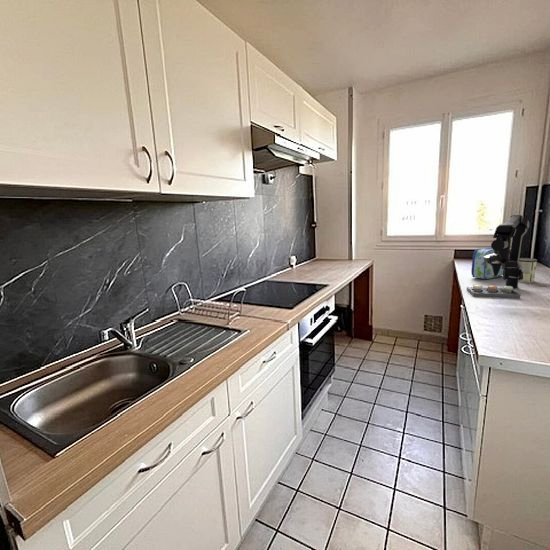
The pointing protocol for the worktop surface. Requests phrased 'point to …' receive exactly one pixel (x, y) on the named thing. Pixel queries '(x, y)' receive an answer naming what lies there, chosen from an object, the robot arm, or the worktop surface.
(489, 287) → the button terracotta
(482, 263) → the lunch box
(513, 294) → the console
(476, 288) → the button ivory
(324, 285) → the worktop surface
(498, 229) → the robot arm
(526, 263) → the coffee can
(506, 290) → the button sage
